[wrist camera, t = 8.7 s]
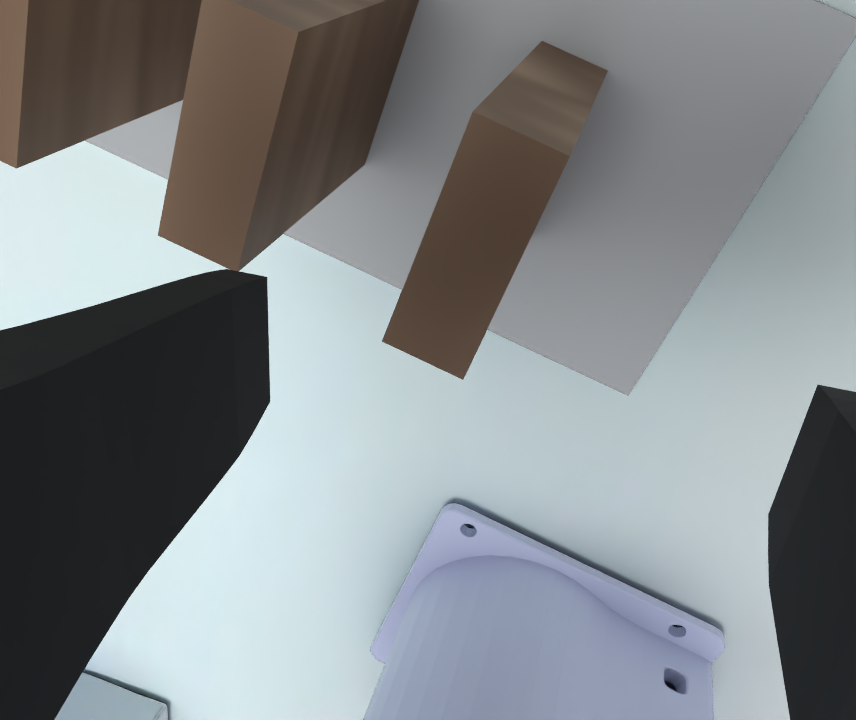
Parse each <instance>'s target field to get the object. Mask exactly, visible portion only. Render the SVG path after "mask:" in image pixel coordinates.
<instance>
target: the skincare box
mask: <svg viewBox="0 0 856 720" xmlns="http://www.w3.org/2000/svg"><path fill="white" fill-rule="evenodd" d="M55 720H168V713H167V706H166V704H164V703H161V702H159V701H156V700H153V699H150V698H147V697H144V696H142V695H139V694H136V693H134V692H131V691H129V690H126V689H124V688H121V687H119V686H117V685H114V684H112V683H109V682H107V681H104V680H102V679H99V678H96V677H94V676H91V675H88V674H85V673H83V672H82V674H81V676H80V677H79V679H78V681H77V682H76V684H75V686H74V687H73V689H72V691H71V692H70V694H69V696H68V698H67V699H66V701H65V703H64V704H63V706H62V708H61V709H60V711H59V713H58V715H57V716H56V718H55Z"/></svg>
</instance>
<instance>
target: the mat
mask: <svg viewBox="0 0 856 720" xmlns="http://www.w3.org/2000/svg"><path fill="white" fill-rule="evenodd" d="M855 37H856V18H854V17H852V16H850V15H848V14H845V13H843V12H841V11H839V10H836V9H834V8H832V7H830V6H827V5H825V4H823V3H821V2H818V1H816V0H419V2H418V5H417V8H416V11H415V14H414V17H413V20H412V23H411V26H410V29H409V32H408V35H407V38H406V42H405V45H404V48H403V51H402V54H401V57H400V60H399V63H398V66H397V69H396V72H395V75H394V78H393V81H392V84H391V87H390V90H389V93H388V96H387V99H386V102H385V105H384V108H383V111H382V114H381V117H380V120H379V123H378V126H377V129H376V132H375V135H374V138H373V142H372V145H371V148H370V151H369V154H368V157H367V160H366V163H365V165H364V166H363V167H362V168H360V169H359V170H358V171H357V172H356V173H354V174H353V175H352V176H351V177H350V178H348V179H347V180H346V181H345V182H344V183H343V184H341V185H340V186H339V187H338V188H337V189H335V190H334V191H333V192H332V193H331V194H330V195H328V196H327V197H326V198H325V199H324V200H322V201H321V202H320V203H319V204H318V205H317V206H315V207H314V208H313V209H312V210H311V211H309V212H308V213H307V214H306V215H305V216H303V217H302V218H301V219H300V220H299V221H298V222H296V223H295V224H294V225H293V226H292V227H290V228H289V229H288V230H287V231H286V232H285V233H283V234H285V235H287V236H289V237H291V238H293V239H295V240H298V241H300V242H302V243H304V244H306V245H308V246H310V247H312V248H315V249H317V250H319V251H321V252H323V253H325V254H327V255H330V256H332V257H334V258H336V259H338V260H340V261H342V262H344V263H347V264H349V265H351V266H353V267H355V268H357V269H359V270H361V271H364V272H366V273H368V274H370V275H372V276H374V277H376V278H378V279H381V280H383V281H385V282H387V283H389V284H391V285H393V286H395V287H398V288H400V289H403V287H404V284H405V282H406V279H407V277H408V274H409V272H410V269H411V267H412V264H413V261H414V259H415V256H416V254H417V251H418V249H419V246H420V244H421V241H422V239H423V236H424V234H425V231H426V228H427V226H428V223H429V221H430V218H431V216H432V213H433V211H434V208H435V206H436V203H437V201H438V198H439V195H440V193H441V190H442V188H443V185H444V183H445V180H446V178H447V175H448V173H449V170H450V168H451V165H452V163H453V160H454V157H455V155H456V152H457V150H458V147H459V145H460V142H461V140H462V137H463V135H464V132H465V130H466V127H467V124H468V122H469V119H470V117H471V114H472V112H473V111H474V110H475V109H476V108H477V107H478V106H479V104H480V103H481V102H482V101H483V100H484V99H485V98H486V97H487V96H488V95H489V94H490V93H491V92H492V91H493V90H494V89H495V88H496V87H497V86H498V85H499V84H500V83H501V82H502V81H503V80H504V79H505V78H506V77H507V76H508V75H509V74H510V73H511V72H512V71H513V70H514V69H515V68H516V67H517V66H518V65H519V64H520V63H521V62H522V61H523V60H524V59H525V58H526V57H527V55H528V54H529V53H530V52H531V51H532V50H533V49H534V48H535V47H536V46H537V45H538V44H539V43H540V42H541V41H544V42H546V43H548V44H550V45H552V46H555V47H557V48H559V49H561V50H564V51H566V52H568V53H570V54H572V55H575V56H577V57H579V58H581V59H583V60H586V61H588V62H590V63H592V64H595V65H597V66H599V67H601V68H603V69H606V70H608V72H607V74H606V76H605V79H604V81H603V83H602V85H601V88H600V90H599V92H598V94H597V97H596V99H595V101H594V103H593V106H592V108H591V110H590V112H589V115H588V117H587V119H586V121H585V124H584V126H583V128H582V130H581V133H580V135H579V137H578V139H577V142H576V144H575V146H574V149H573V151H572V153H571V155H570V157H569V160H568V162H567V164H566V166H565V168H564V170H563V172H562V174H561V176H560V178H559V180H558V182H557V185H556V187H555V189H554V191H553V193H552V195H551V197H550V199H549V201H548V203H547V205H546V208H545V210H544V212H543V214H542V216H541V218H540V220H539V222H538V224H537V226H536V228H535V231H534V233H533V235H532V237H531V239H530V241H529V243H528V245H527V247H526V249H525V251H524V254H523V256H522V258H521V260H520V262H519V264H518V266H517V268H516V270H515V272H514V274H513V276H512V279H511V281H510V283H509V285H508V287H507V289H506V291H505V293H504V295H503V297H502V299H501V302H500V304H499V306H498V308H497V310H496V312H495V314H494V316H493V318H492V320H491V322H490V325H489V327H488V329H487V330H489V331H491V332H493V333H496V334H498V335H500V336H502V337H504V338H506V339H508V340H510V341H513V342H515V343H517V344H519V345H521V346H523V347H525V348H527V349H530V350H532V351H534V352H536V353H538V354H540V355H542V356H545V357H547V358H549V359H551V360H553V361H555V362H557V363H559V364H562V365H564V366H566V367H568V368H570V369H572V370H574V371H576V372H579V373H581V374H583V375H585V376H587V377H589V378H591V379H593V380H596V381H598V382H600V383H602V384H604V385H606V386H608V387H610V388H613V389H615V390H617V391H619V392H621V393H623V394H625V395H629V394H630V392H631V391H632V389H633V388H634V386H635V384H636V383H637V381H638V380H639V378H640V376H641V375H642V373H643V372H644V370H645V369H646V367H647V365H648V364H649V362H650V361H651V359H652V358H653V356H654V354H655V353H656V351H657V350H658V348H659V346H660V345H661V343H662V342H663V340H664V339H665V337H666V335H667V334H668V332H669V331H670V329H671V327H672V326H673V324H674V323H675V321H676V320H677V318H678V316H679V315H680V313H681V312H682V310H683V309H684V307H685V305H686V304H687V302H688V301H689V299H690V297H691V296H692V294H693V293H694V291H695V290H696V288H697V286H698V285H699V283H700V282H701V280H702V279H703V277H704V275H705V274H706V272H707V271H708V269H709V267H710V266H711V264H712V263H713V261H714V260H715V258H716V256H717V255H718V253H719V252H720V250H721V249H722V247H723V245H724V244H725V242H726V241H727V239H728V237H729V236H730V234H731V233H732V231H733V230H734V228H735V226H736V225H737V223H738V222H739V220H740V219H741V217H742V215H743V214H744V212H745V211H746V209H747V207H748V206H749V204H750V203H751V201H752V200H753V198H754V196H755V195H756V193H757V192H758V190H759V188H760V187H761V185H762V184H763V182H764V181H765V179H766V177H767V176H768V174H769V173H770V171H771V170H772V168H773V166H774V165H775V163H776V162H777V160H778V158H779V157H780V155H781V154H782V152H783V151H784V149H785V147H786V146H787V144H788V143H789V141H790V140H791V138H792V136H793V135H794V133H795V132H796V130H797V128H798V127H799V125H800V124H801V122H802V121H803V119H804V117H805V116H806V114H807V113H808V111H809V110H810V108H811V106H812V105H813V103H814V102H815V100H816V98H817V97H818V95H819V94H820V92H821V91H822V89H823V87H824V86H825V84H826V83H827V81H828V79H829V78H830V76H831V75H832V73H833V72H834V70H835V68H836V67H837V65H838V64H839V62H840V61H841V59H842V57H843V56H844V54H845V53H846V51H847V49H848V48H849V46H850V45H851V43H852V42H853V40H854V38H855ZM182 104H183V100H182V101H179V102H177V103H174V104H172V105H169V106H167V107H165V108H162V109H160V110H157V111H155V112H152V113H150V114H148V115H145V116H143V117H140V118H138V119H135V120H133V121H130V122H128V123H126V124H123V125H121V126H118V127H116V128H113V129H111V130H109V131H106V132H104V133H101V134H99V135H96V136H94V137H92V138H89V139H87V140H85V141H87V142H89V143H91V144H93V145H95V146H97V147H100V148H102V149H104V150H106V151H108V152H110V153H112V154H114V155H117V156H119V157H121V158H123V159H125V160H127V161H129V162H132V163H134V164H136V165H138V166H140V167H142V168H144V169H146V170H149V171H151V172H153V173H155V174H157V175H159V176H161V177H163V178H166V179H169V173H170V168H171V162H172V157H173V152H174V146H175V141H176V136H177V130H178V125H179V120H180V114H181V109H182Z"/></svg>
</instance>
